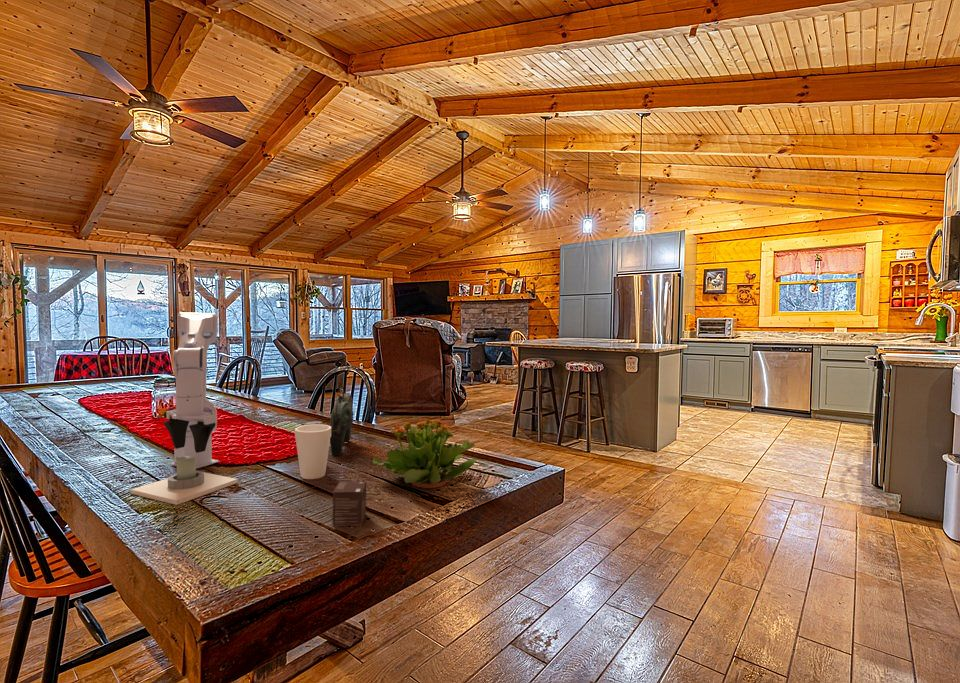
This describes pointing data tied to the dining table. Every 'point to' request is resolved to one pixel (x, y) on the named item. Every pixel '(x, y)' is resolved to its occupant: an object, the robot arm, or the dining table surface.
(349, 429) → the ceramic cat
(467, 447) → the potted flower
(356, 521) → the box
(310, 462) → the foam cup
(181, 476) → the grey rounded piece
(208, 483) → the socket plate
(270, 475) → the dining table surface
